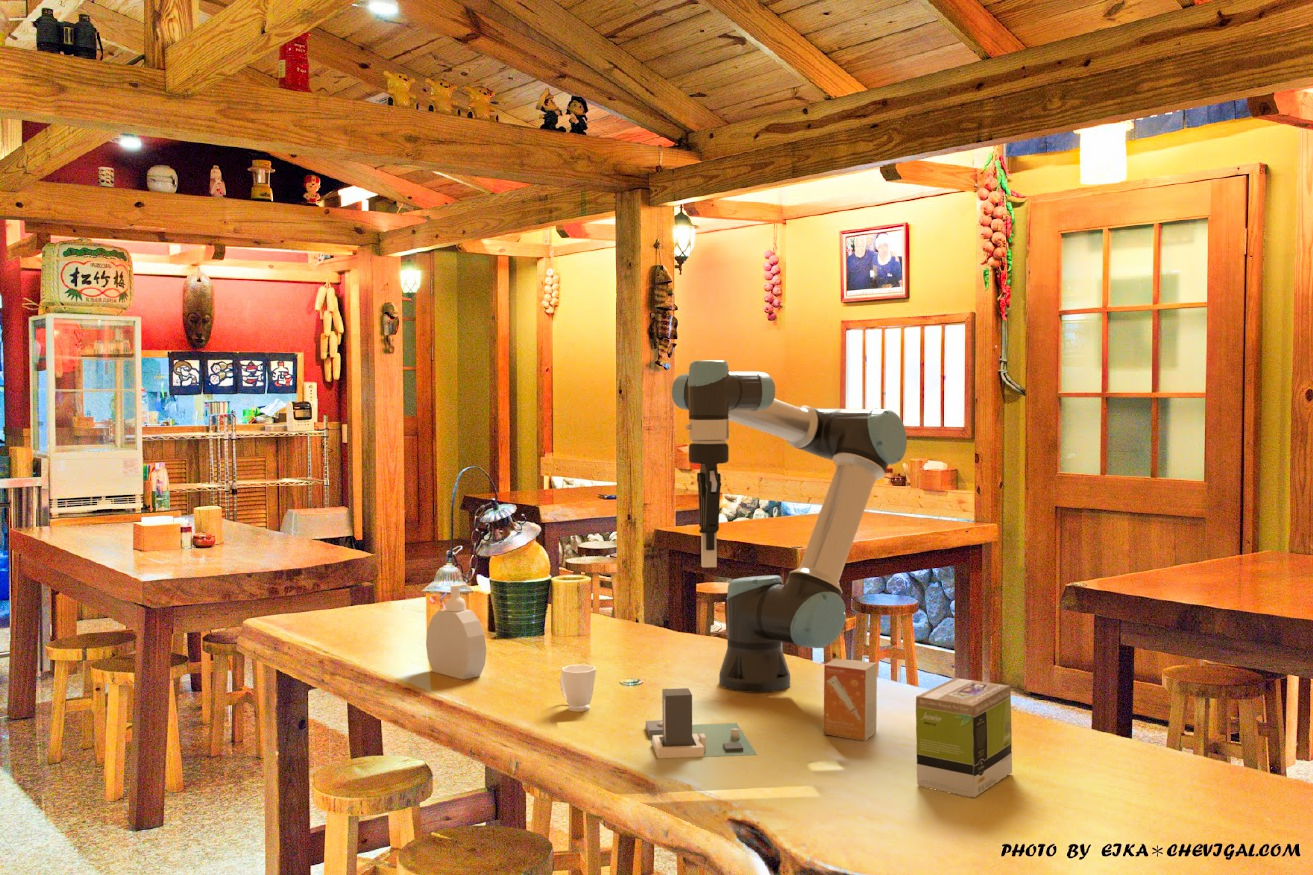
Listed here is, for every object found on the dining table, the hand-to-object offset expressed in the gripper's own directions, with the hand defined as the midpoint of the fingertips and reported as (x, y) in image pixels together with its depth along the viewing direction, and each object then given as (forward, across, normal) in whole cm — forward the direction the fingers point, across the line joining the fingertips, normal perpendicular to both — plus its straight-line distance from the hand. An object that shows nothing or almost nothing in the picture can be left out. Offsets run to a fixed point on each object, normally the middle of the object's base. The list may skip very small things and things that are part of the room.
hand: (709, 566), depth 217 cm
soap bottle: (+30, -44, -50) cm, 73 cm away
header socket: (+28, +22, -9) cm, 37 cm away
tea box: (+30, +39, +35) cm, 60 cm away
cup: (+30, -13, -25) cm, 41 cm away
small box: (+30, +12, +24) cm, 40 cm away
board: (+29, +16, -4) cm, 34 cm away
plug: (+28, +22, -9) cm, 37 cm away
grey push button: (+29, +12, -10) cm, 33 cm away
